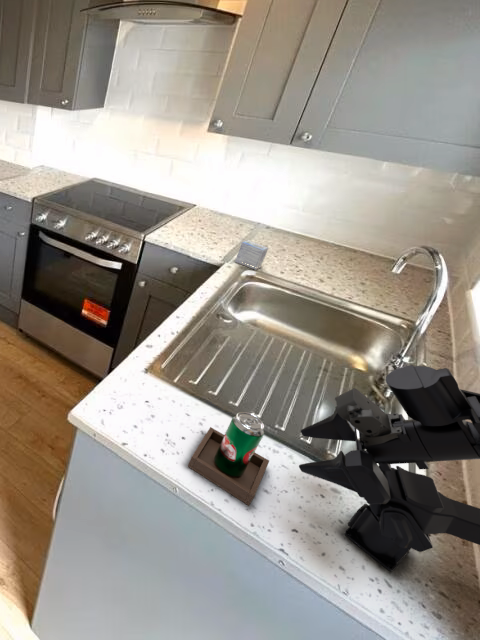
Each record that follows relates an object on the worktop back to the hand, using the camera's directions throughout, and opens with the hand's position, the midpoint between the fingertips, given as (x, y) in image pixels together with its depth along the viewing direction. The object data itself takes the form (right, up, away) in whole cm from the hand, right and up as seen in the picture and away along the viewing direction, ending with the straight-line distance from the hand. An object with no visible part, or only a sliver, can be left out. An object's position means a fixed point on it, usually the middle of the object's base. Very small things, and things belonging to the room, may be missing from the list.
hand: (301, 449), depth 73 cm
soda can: (-7, -7, +9) cm, 13 cm away
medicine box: (+51, +29, +92) cm, 110 cm away
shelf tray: (-7, -8, +9) cm, 14 cm away
